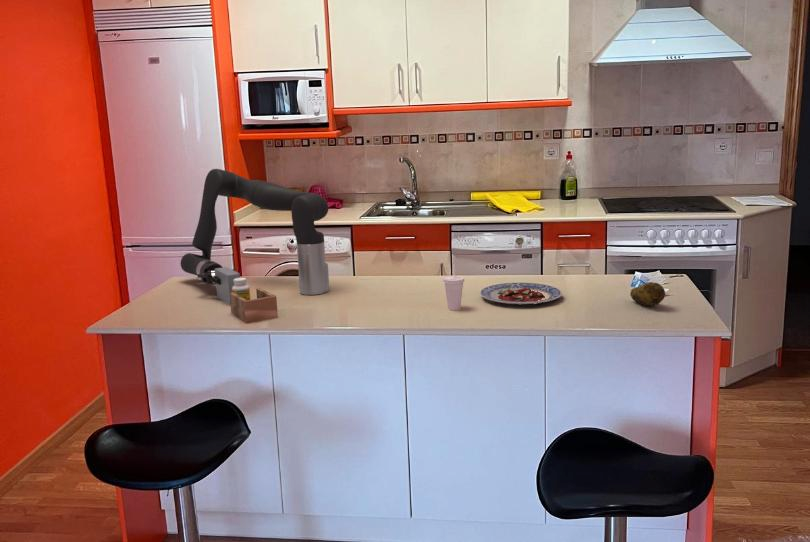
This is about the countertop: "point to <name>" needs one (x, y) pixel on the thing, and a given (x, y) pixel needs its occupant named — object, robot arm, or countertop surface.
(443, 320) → the countertop surface
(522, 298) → the ceramic plate
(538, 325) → the countertop surface
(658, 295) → the potato
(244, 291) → the supplement bottle
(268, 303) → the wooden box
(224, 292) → the grey rectangular box
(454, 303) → the smoothie
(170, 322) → the countertop surface
